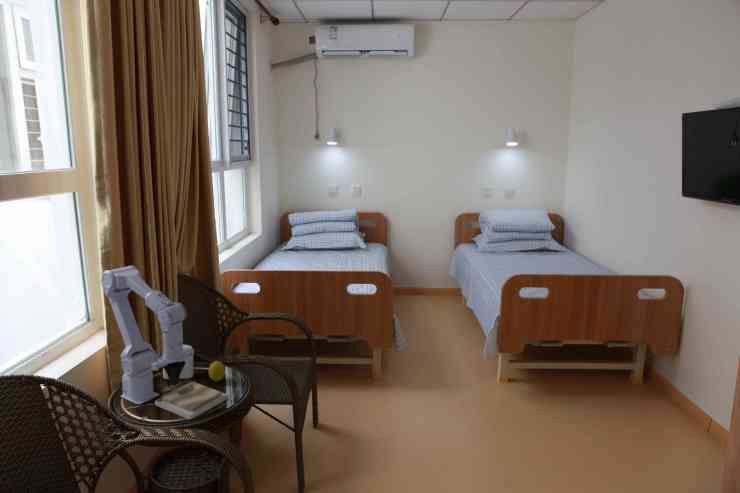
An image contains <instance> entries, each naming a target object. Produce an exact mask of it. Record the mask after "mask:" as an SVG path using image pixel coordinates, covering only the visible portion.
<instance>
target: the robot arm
mask: <svg viewBox="0 0 740 493" xmlns="http://www.w3.org/2000/svg"><path fill="white" fill-rule="evenodd" d="M101 275H102V276H101V278H100V283H101V286H102V289H103V292H104V294H105V296H106V297H107V298H108V301H109V303H110V305H111V309H112V311H113V316H114V318H115V320H116V322H117V325H118V328H119V332H120V335H121V337H122V340H123V342H124V346H125V348H124V349H123V351H122V352H121V354H120V359H121V360H120V361H121V369H122V370H123V371H122V372H123V375H122V378H121V383H122V384H121V385H122V387H121V388H122V394H121V395H120V398H121V397H122V399H124V400H126V401H129V402H131V403H133V404H136V405H138V406H139V405H141V404H143V403H144V404H145V403H146V402H148V401H150V400H152V399H154V398H156V397H159V396H160V393H158V392H155V391H154V383H153V378H154V377H153V376H154V375H153V371H155V372H157V371H159V369H160V368H162V369H163V368H164V370H165V371H166V373H167V375H168V378H169V379H168V381H169V383H170V384H171V385H173V386H176V385H177V384H179V381H180V379H179V377H180V374H181V371H182V369H183V367H184V366H185V361H184V358H185V357H187V356H192V355H193V356H195V349H193V348H192V349H191V348H188V349H185V350H183V345H184V344H183V343H184V341H183V339H184V337H183V335H184V333H183V321H184V320H186V319H187V309H186V307H185V306H184V305H183V304H182V303H181V302H175V301H172V300H171V299H169V297H167V296H166V295H165V294H164V293H163V292H162V291H160V290H153V289H152V288H151V287H150V286H149V285H148V284H147V282H145V281H144V280H143V278H141V272H140V271H139V270H138V269H137V267H135V266H133V265H128V266H124V267H120V268H115V269H114V268H113V269H109V270H108V269H107V270H104V271H103V272H102V274H101ZM132 291H133V292H134V293H136V294H137V295H138V296H140V297H142V299H144V305H145V306H146V307H147V308H149V310H151V311H152V312H153V313H155V314H156V316H157V320H158V322H159V324H160V330H161V331H162V356H161V357H160V358H158V354H157V353H156V351H155V350H154V348H153V345H152V344H151V343H148V342H146V341H144V340H143V338H142V335H141V333H140V329H139V327H138V323H137V321H136V319H135V315H134V313H133V310H132V307H131V305H130V302H129V299H128V296H129V293H131V292H132ZM137 352H138V353H137ZM134 353H135V354H134Z"/></svg>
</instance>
